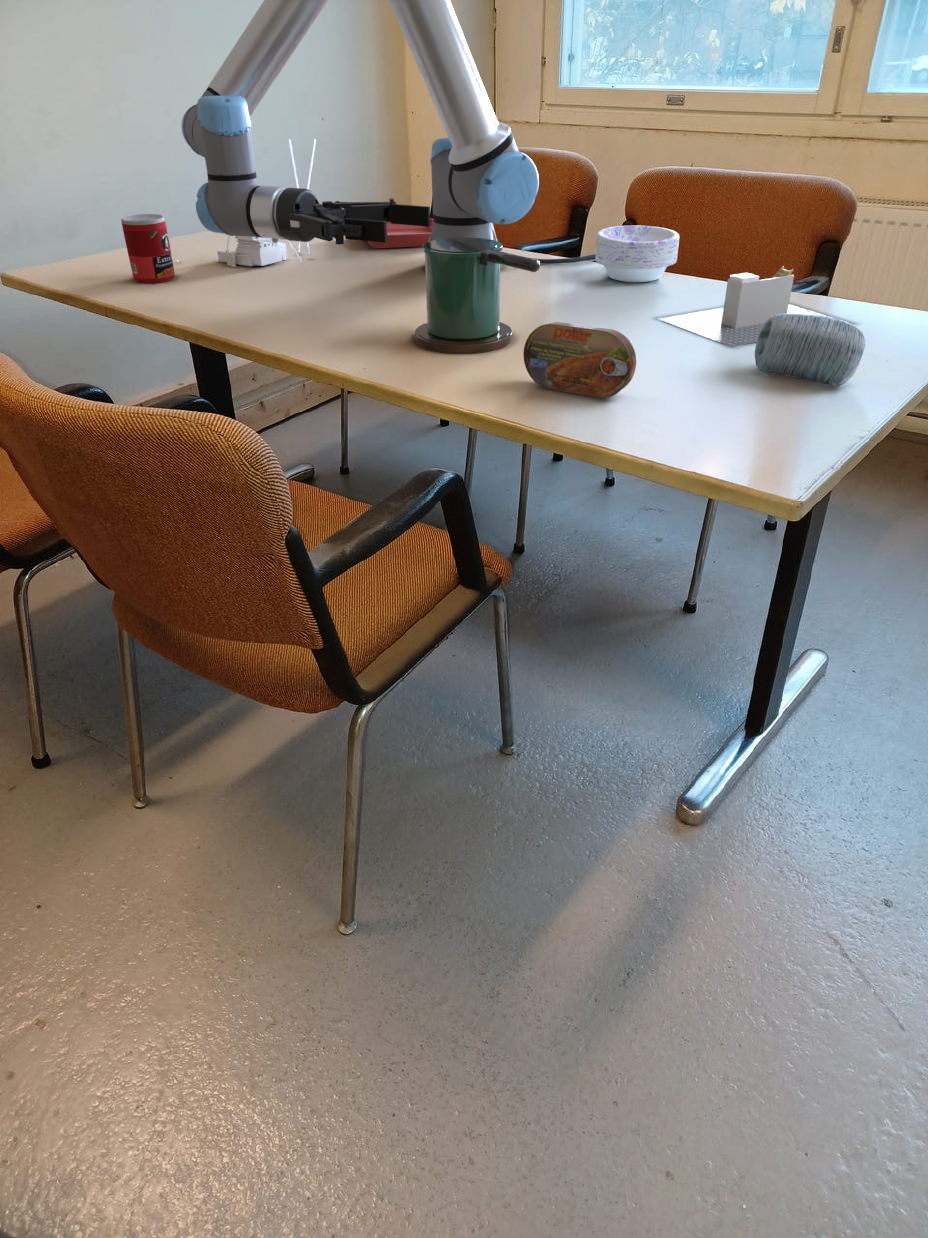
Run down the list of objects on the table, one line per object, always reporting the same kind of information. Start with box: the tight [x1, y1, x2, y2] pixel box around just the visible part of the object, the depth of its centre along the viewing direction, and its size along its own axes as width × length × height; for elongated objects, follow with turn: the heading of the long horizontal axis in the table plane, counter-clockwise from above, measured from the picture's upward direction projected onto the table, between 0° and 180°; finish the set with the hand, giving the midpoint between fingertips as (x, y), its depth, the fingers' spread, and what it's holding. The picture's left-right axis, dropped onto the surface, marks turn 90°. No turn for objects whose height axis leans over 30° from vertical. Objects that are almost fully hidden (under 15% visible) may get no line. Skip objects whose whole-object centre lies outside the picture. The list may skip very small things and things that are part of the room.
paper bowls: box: [594, 224, 680, 283], centre depth 165 cm, size 15×15×8 cm
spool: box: [754, 313, 866, 386], centre depth 117 cm, size 14×10×10 cm
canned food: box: [120, 213, 176, 284], centre depth 167 cm, size 8×8×11 cm
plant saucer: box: [367, 217, 433, 249], centre depth 197 cm, size 18×18×3 cm
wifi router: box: [177, 138, 317, 268], centre depth 178 cm, size 25×22×22 cm
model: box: [720, 265, 795, 329], centre depth 140 cm, size 3×11×8 cm, turn 118°
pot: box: [422, 237, 541, 339], centre depth 128 cm, size 22×12×12 cm, turn 40°
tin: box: [523, 321, 637, 399], centre depth 113 cm, size 15×3×8 cm, turn 58°
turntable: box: [414, 321, 513, 355], centre depth 135 cm, size 15×15×1 cm
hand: (408, 223), depth 130 cm, fingers open, 13 cm apart
